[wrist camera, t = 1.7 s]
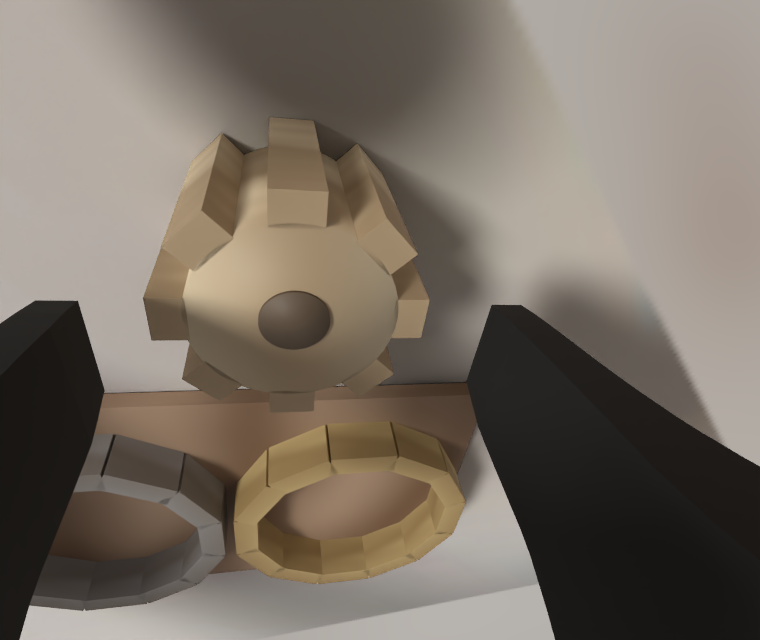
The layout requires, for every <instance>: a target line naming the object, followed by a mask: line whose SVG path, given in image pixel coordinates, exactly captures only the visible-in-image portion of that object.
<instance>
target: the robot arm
mask: <svg viewBox="0 0 760 640" xmlns="http://www.w3.org/2000/svg"><path fill="white" fill-rule="evenodd" d="M467 385H468V389H469V393H470V397H471V401H472V406H473V409H474V413H475V416H476V420H477V424H478V427H479V430H480V432H481V435H482V437H483V440H484V442H485V445H486V447H487V450H488V452H489V454H490V457H491V459H492V462H493V464H494V467H495V469H496V471H497V474H498V476H499V479H500V481H501V483H502V486H503V488H504V491H505V493H506V495H507V498H508V500H509V503H510V505H511V507H512V510H513V512H514V515H515V517H516V519H517V522H518V524H519V527H520V529H521V531H522V534H523V537H524V540H525V542H526V545H527V548H528V550H529V553H530V556H531V559H532V562H533V566H534V569H535V572H536V575H537V579H538V582H539V585H540V589H541V592H542V595H543V598H544V601H545V605H546V608H547V612H548V615H549V619H550V622H551V626H552V630H553V633H554V637H555V640H760V466H758V465H756V464H754V463H752V462H751V461H749V460H747V459H745V458H744V457H741V456H740V455H738V454H737V453H735V452H733V451H732V450H730V449H728V448H727V447H725V446H723V445H722V444H720V443H718V442H717V441H715V440H713V439H712V438H710V437H708V436H707V435H705V434H703V433H701V432H700V431H698V430H697V429H695V428H693V427H692V426H690V425H689V424H687V423H686V422H684V421H682V420H681V419H679V418H678V417H676V416H675V415H673V414H672V413H670V412H669V411H667V410H666V409H664V408H663V407H661V406H660V405H658V404H657V403H655V402H654V401H653V400H651V399H650V398H648V397H647V396H645V395H644V394H642V393H641V392H639V391H638V390H636V389H635V388H634V387H632V386H631V385H629V384H628V383H627V382H625V381H624V380H622V379H621V378H620V377H618V376H617V375H616V374H614V373H613V372H611V371H610V370H609V369H607V368H606V367H605V366H603V365H602V364H601V363H599V362H598V361H597V360H595V359H594V358H593V357H591V356H590V355H589V354H587V353H586V352H585V351H583V350H582V349H581V348H579V347H578V346H577V345H575V344H574V343H573V342H571V341H570V340H569V339H568V338H566V337H565V336H564V335H562V334H561V333H560V332H558V331H557V330H556V329H554V328H553V327H552V326H550V325H549V324H548V323H546V322H545V321H544V320H542V319H541V318H539V317H538V316H537V315H535V314H534V313H532V312H531V311H529V310H528V309H526V308H525V307H523V306H521V305H492V306H491V309H490V312H489V315H488V318H487V321H486V324H485V327H484V330H483V333H482V336H481V339H480V342H479V345H478V348H477V351H476V354H475V357H474V360H473V363H472V366H471V369H470V372H469V375H468V379H467ZM103 395H104V387H103V383H102V380H101V377H100V374H99V370H98V367H97V364H96V360H95V357H94V354H93V350H92V347H91V344H90V340H89V337H88V334H87V330H86V327H85V324H84V320H83V317H82V314H81V310H80V307H79V304H78V301H34V302H32V303H31V304H29V305H28V306H26V307H24V308H23V309H21V310H20V311H18V312H17V313H15V314H14V315H12V316H11V317H9V318H8V319H6V320H5V321H3V322H2V323H0V640H19V639H20V635H21V632H22V628H23V625H24V621H25V618H26V614H27V611H28V608H29V605H30V602H31V599H32V596H33V594H34V591H35V588H36V585H37V582H38V579H39V576H40V574H41V571H42V569H43V566H44V564H45V561H46V559H47V556H48V554H49V551H50V549H51V546H52V544H53V541H54V539H55V536H56V534H57V531H58V529H59V526H60V524H61V521H62V519H63V516H64V514H65V511H66V509H67V506H68V504H69V501H70V499H71V496H72V494H73V491H74V489H75V486H76V484H77V481H78V478H79V476H80V473H81V471H82V468H83V466H84V463H85V461H86V458H87V455H88V453H89V450H90V447H91V445H92V441H93V437H94V433H95V429H96V425H97V421H98V417H99V413H100V408H101V404H102V399H103Z"/></svg>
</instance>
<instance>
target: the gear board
mask: <svg viewBox="0 0 760 640" xmlns="http://www.w3.org/2000/svg"><path fill="white" fill-rule="evenodd" d="M476 423H477V420H476V416H475V413H474V409H473V406H472V401H471V397H470V393H469V389H468V385H467V383H445V384H412V385H378V386H375V387H374V388H372V389H371V390H369V391H368V392H366V393H365V394H363V395H362V396H359V395H357V394H356V393H355V392H353V391H352V390H351V389H349V388H348V387H347V386H345V387H330V388H326V389H322V390H319V391H315V398H314V411H307V412H282V413H270V396H269V393H267V392H262V391H257V390H253V389H245V390H235V391H234V392H232V393H231V394H230V395H228V396H227V397H226V398H224V399H223V400H221V401H218V400H217V399H215V398H213V397H212V396H210V395H208V394H206V393H205V392H203V391H178V392H145V393H112V394H104V395H103V399H102V404H101V408H100V413H99V417H98V421H97V425H96V429H95V433H94V437H93V441H92V445H91V447H90V450H89V453H88V455H87V458H86V461H85V463H84V466H83V468H82V471H81V473H80V476H79V478H78V481H77V484H76V486H75V489H74V491H73V494H72V496H71V499H70V501H69V504H68V506H67V509H66V511H65V514H64V516H63V519H62V521H61V524H60V526H59V529H58V531H57V534H56V536H55V539H54V541H53V544H52V546H51V549H50V551H49V554H48V556H47V559H46V561H45V564H44V566H43V569H42V571H41V574H40V576H39V579H38V582H37V585H36V588H35V591H34V594H33V596H32V599H31V602H30V605H31V606H41V607H51V608H61V609H71V610H81V611H83V610H84V609H85V610H86V611H87V610H96V609H105V608H113V607H122V606H131V605H140V604H147V602H148V603H151V602H153V601H156V600H159V599H161V598H164V597H166V596H169V595H172V594H174V593H177V592H179V591H182V590H185V589H187V588H190V587H193V586H195V585H197V584H199V583H200V582H201V581H202V580H203V579H204V578H205V577H206V576H207V575H208V574H214V573H223V572H232V571H242V570H251V569H258V570H260V571H261V572H263V573H264V574H265V575H267V576H270V577H274V578H280V579H287V580H293V581H300V582H306V583H312V584H316V583H317V582H318V584H323V583H331V582H340V581H349V580H357V579H366V578H368V577H370V578H371V577H374V576H377V575H379V574H382V573H385V572H387V571H390V570H393V569H396V568H398V567H401V566H404V565H406V564H409V563H412V562H415V561H417V560H419V559H420V558H421V557H423V556H424V555H425V554H427V553H428V552H429V551H431V550H432V549H433V548H435V547H436V546H437V545H439V544H440V543H441V542H443V541H444V540H445V539H446V538H448V537H449V536H450V535H452V533H453V532H454V530H455V527H456V525H457V523H458V520H459V518H460V515H461V513H462V511H463V508H464V506H465V503H466V502H465V498H464V495H463V492H462V489H461V486H460V483H459V480H458V477H457V474H458V471H459V469H460V466H461V463H462V461H463V458H464V455H465V452H466V450H467V447H468V444H469V442H470V439H471V436H472V434H473V431H474V428H475V426H476ZM416 559H417V560H416Z"/></svg>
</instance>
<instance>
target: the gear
mask: <svg viewBox="0 0 760 640" xmlns="http://www.w3.org/2000/svg"><path fill="white" fill-rule="evenodd" d="M417 255H418V253H417V251H416V248H415V246H414V244H413V242H412V240H411V237H410V235H409V233H408V231H407V228H406V226H405V224H404V222H403V219H402V217H401V215H400V213H399V210H398V208H397V206H396V204H395V202H394V199H393V197H392V195H391V193H390V190H389V188H388V186H387V184H386V181H385V179H384V177H383V175H382V173H381V172H380V171H379V169H378V168H377V167H376V166H375V165H374V163H373V162H372V161H371V160H370V158H369V157H368V156H367V155H366V154H365V152H364V151H363V150H362V149H361V147H360V146H359V145H358V144H356V145H355V146H354V147H352V148H351V149H350V150H349V151H348V152H347V153H345V154H344V155H343V156H342V157H341V158H340V159H338V160H337V161H335V160H334V159H332V158H330V157H328V156H327V155H325V154H323V153H320V148H319V143H318V138H317V134H316V129H315V124H314V121H310V120H298V119H286V118H275V117H269V144H268V147H265V148H261V149H257V150H254V151H252V152H249V153H247V154H245V155H243V154H242V153H241V152H240V151H239V150H238V149H237V148H236V147H235V146H234V145H233V144H232V143H231V142H230V141H229V140H228V139H227V138H226V137H225V136H224V135H223V134H222V133H221V134H220V135H219V136H218V137H217V138H216V139H215V140H214V141H213V142H212V143H211V144H210V145H209V146H208V147H207V148H206V149H205V150H204V151H203V152H201V153H200V154H199V155H198V156H197V157H196V158H195V159H194V160H193V161H192V163H191V166H190V168H189V171H188V174H187V177H186V179H185V182H184V185H183V188H182V190H181V193H180V196H179V199H178V201H177V204H176V207H175V210H174V212H173V215H172V218H171V221H170V223H169V226H168V229H167V232H166V234H165V237H164V240H163V242H162V245H161V250H160V253H159V255H158V258H157V261H156V264H155V267H154V269H153V272H152V275H151V278H150V280H149V283H148V286H147V289H146V291H145V294H144V297H143V300H144V305H145V310H146V315H147V320H148V325H149V330H150V335H151V340H188V341H189V343H190V344H189V348H188V353H187V358H186V363H185V368H184V372H183V377H182V379H183V380H184V381H186V382H188V383H189V384H191V385H193V386H195V387H196V388H198V389H200V390H201V391H203V392H205V393H206V394H208V395H210V396H212V397H213V398H215V399H217V400H218V401H221V400H223V399H224V398H226V397H227V396H228V395H230V394H231V393H232V392H234V391H235V390H236V389H238V388H239V387H240V386H243V387H247V388H250V389H253V390H257V391H262V392H267V393H269V396H270V413H282V412H307V411H314V398H315V391H319V390H322V389H326V388H330V387H332V386H335V385H338V384H340V383H343V384H344V385H345V386H347V387H348V388H349V389H351V390H352V391H353V392H355V393H356V394H357V395H359V396H362V395H363V394H365V393H366V392H368V391H369V390H371V389H372V388H374V387H375V386H377V385H378V384H380V383H381V382H383V381H384V380H386V379H387V378H389V377H390V376H392V375H393V374H394V372H393V368H392V364H391V360H390V357H389V353H388V349H387V345H388V343H389V341H390V340H391V338H421V336H422V331H423V327H424V323H425V318H426V314H427V310H428V305H429V301H430V300H429V297H428V295H427V293H426V290H425V288H424V286H423V283H422V281H421V278H420V276H419V274H418V271H417V269H416V267H415V264H414V262H413V260H412V259H413V258H414V257H415V256H417Z"/></svg>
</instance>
